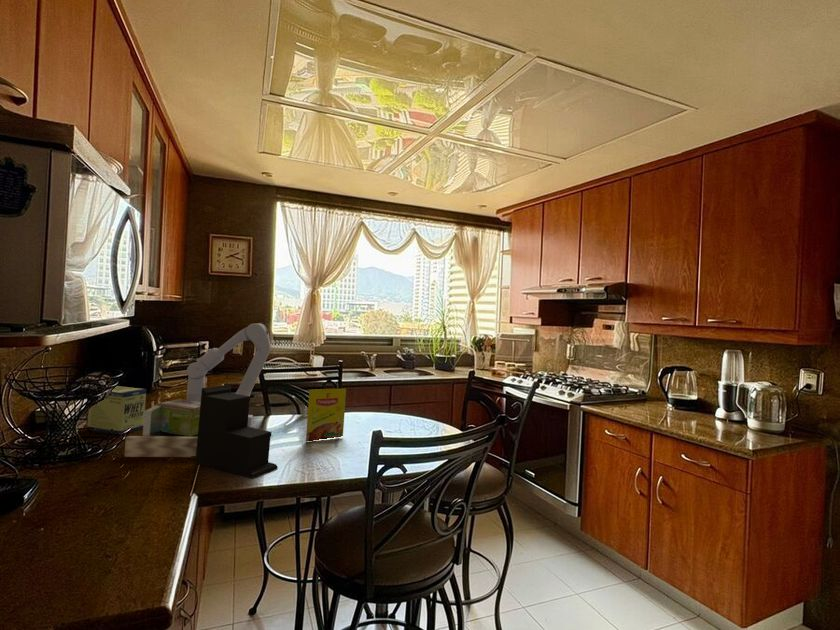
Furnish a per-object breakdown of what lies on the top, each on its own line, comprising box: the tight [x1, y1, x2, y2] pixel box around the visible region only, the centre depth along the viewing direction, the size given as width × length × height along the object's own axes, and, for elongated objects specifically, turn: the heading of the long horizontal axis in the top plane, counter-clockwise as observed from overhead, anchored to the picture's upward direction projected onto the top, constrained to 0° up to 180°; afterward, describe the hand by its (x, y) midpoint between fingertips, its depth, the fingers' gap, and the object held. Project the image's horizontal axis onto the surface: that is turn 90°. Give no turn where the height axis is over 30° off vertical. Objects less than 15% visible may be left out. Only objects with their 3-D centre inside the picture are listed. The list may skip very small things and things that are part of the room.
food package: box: [305, 388, 347, 442], centre depth 169 cm, size 15×1×20 cm, turn 126°
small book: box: [142, 404, 162, 436], centre depth 144 cm, size 2×9×14 cm, turn 11°
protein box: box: [86, 385, 147, 435], centre depth 165 cm, size 10×16×16 cm
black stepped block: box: [194, 384, 278, 479], centre depth 134 cm, size 23×11×24 cm, turn 66°
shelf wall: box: [124, 435, 198, 458], centre depth 140 cm, size 26×2×6 cm, turn 101°
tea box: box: [156, 398, 201, 437], centre depth 152 cm, size 15×10×15 cm, turn 75°
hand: (192, 431), depth 161 cm, fingers closed
